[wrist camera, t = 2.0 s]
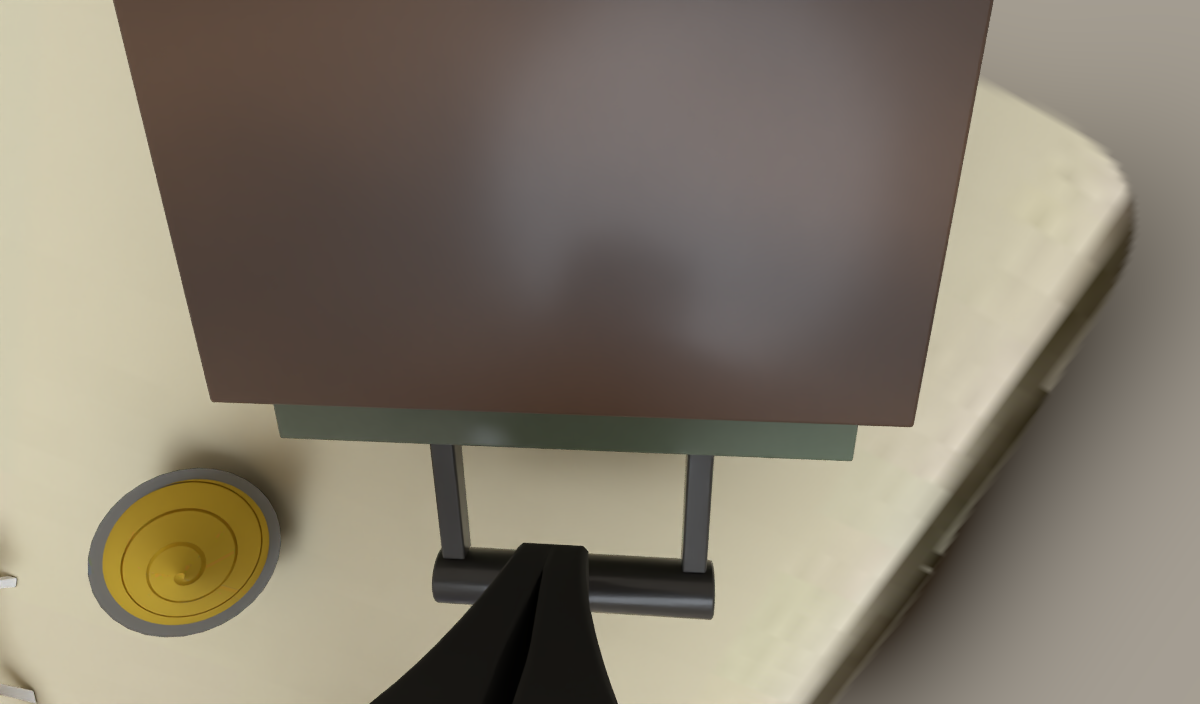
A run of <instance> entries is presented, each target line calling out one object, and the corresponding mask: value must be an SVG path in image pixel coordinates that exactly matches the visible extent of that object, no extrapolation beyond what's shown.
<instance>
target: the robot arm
mask: <svg viewBox="0 0 1200 704" xmlns="http://www.w3.org/2000/svg"><path fill="white" fill-rule="evenodd" d="M370 704H618V703H617V700H616V697H615V694H614V692H613V689H612V686H611V684H610V681H609V678H608V675H607V672H606V669H605V665H604V662H603V659H602V655H601V652H600V648H599V645H598V641H597V637H596V633H595V629H594V624H593V619H592V614H591V610H590V605H589V562H588V551H587V550H586V549H585V548H584V547H583V546H572V545H554V544H535V543H523V544H521V545H520V546H519V547H518V548H517V550H516V551H515V552H514V554H513V555H512V557H511V558H510V559H509V561H508V562H507V563H506V565H505V566H504V567H503V569H502V570H501V571H500V572H499V574H498V575H497V576H496V578H495V579H494V580H493V581H492V583H491V584H490V585H489V586H488V588H487V589H486V590H485V591H484V592H483V593H482V595H481V596H480V597H479V598H478V599H477V601H476V602H475V603H474V604H473V605H472V606H471V608H470V609H469V610H468V611H467V612H466V613H465V615H464V616H463V617H462V618H461V619H460V620H459V621H458V622H457V623H456V624H455V625H454V626H453V627H452V628H451V629H450V631H449V632H448V633H447V634H446V635H445V636H444V637H443V638H442V639H441V640H440V641H439V642H438V643H437V644H436V645H435V646H434V647H433V648H432V649H431V650H430V651H429V652H428V653H427V654H426V655H425V656H424V657H423V658H422V659H421V660H420V661H419V662H418V663H417V664H415V665H414V666H413V667H412V668H411V669H410V670H409V671H408V672H407V673H405V674H404V675H403V676H402V677H401V678H400V679H399V680H398V681H396V682H395V683H394V684H393V685H392V686H391V687H389V688H388V689H387V690H386V691H384V692H383V693H382V694H381V695H379V696H378V697H377V698H376V699H374V700H373V701H372V702H371V703H370Z"/></svg>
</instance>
